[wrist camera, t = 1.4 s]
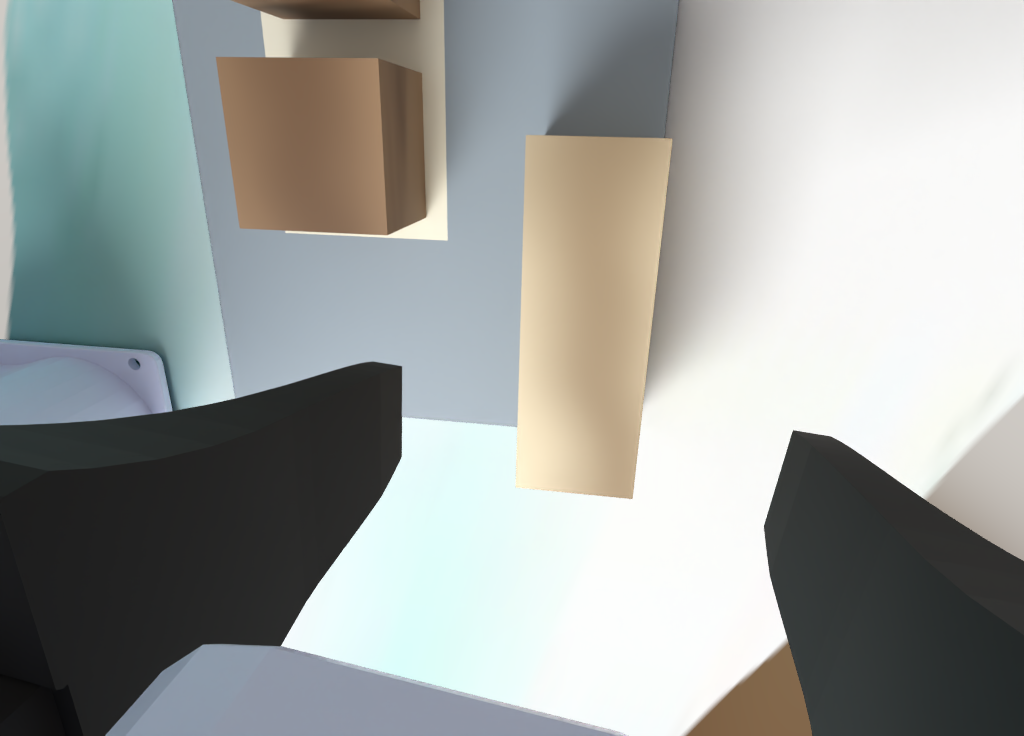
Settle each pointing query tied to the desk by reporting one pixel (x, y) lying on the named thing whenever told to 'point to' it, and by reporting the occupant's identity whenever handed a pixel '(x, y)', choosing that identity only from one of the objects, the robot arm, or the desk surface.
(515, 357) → the board
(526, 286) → the tan rectangular block
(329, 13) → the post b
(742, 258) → the desk surface
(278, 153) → the brown wooden cube
